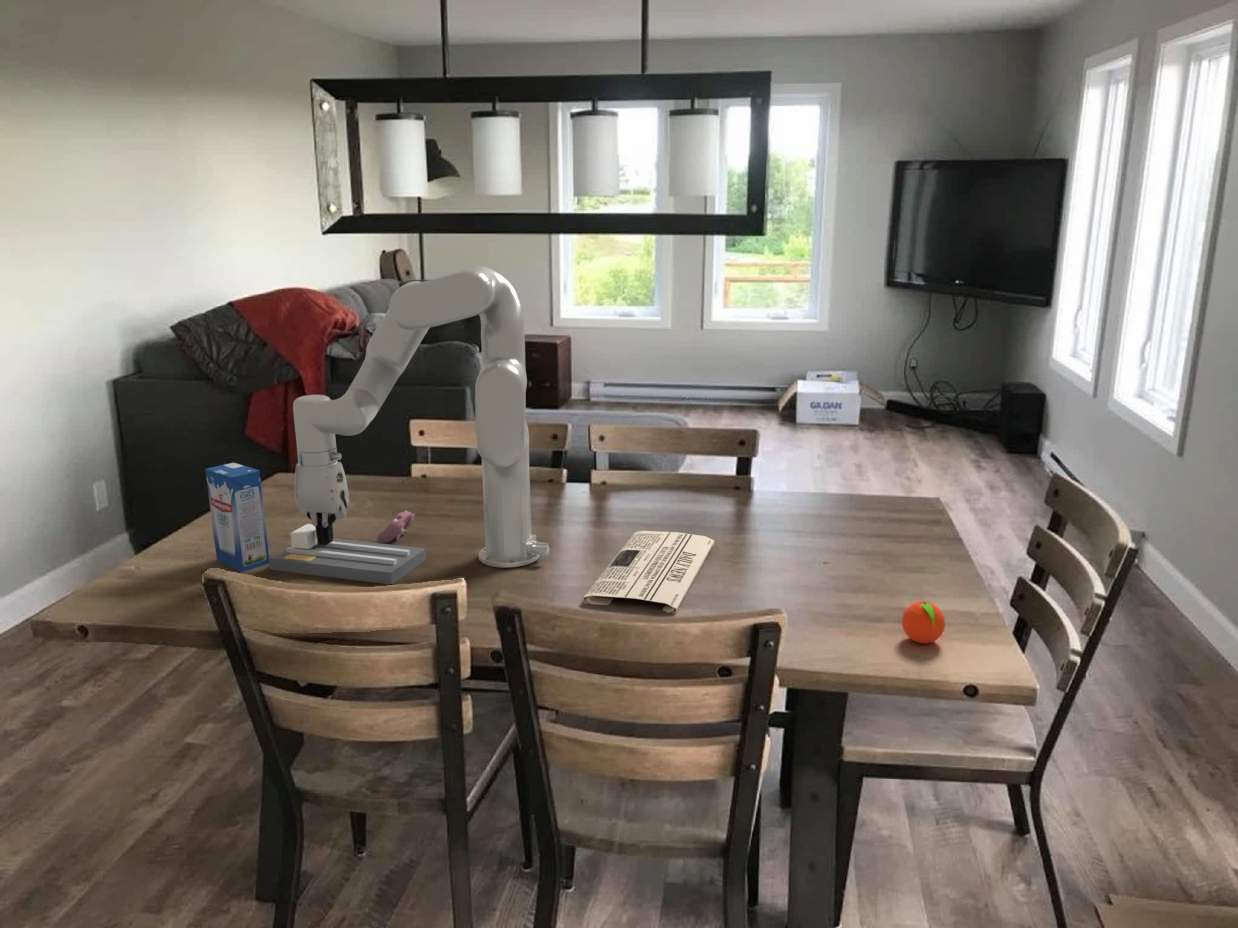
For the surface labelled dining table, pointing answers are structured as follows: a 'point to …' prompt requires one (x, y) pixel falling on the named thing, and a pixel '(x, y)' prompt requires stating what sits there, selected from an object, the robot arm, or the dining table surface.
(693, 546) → the newspaper
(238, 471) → the milk carton
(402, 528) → the video game controller
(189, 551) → the dining table surface
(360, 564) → the fader console
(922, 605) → the clementine
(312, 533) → the fader knob
